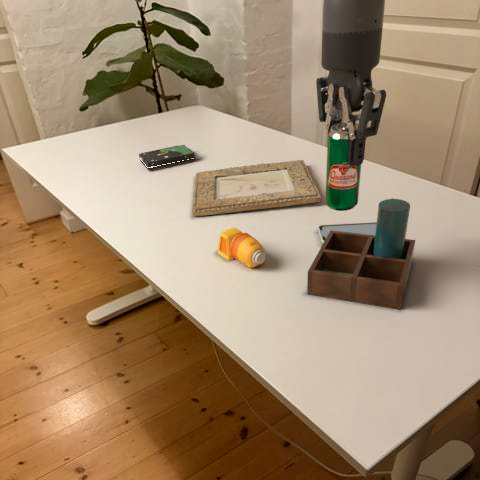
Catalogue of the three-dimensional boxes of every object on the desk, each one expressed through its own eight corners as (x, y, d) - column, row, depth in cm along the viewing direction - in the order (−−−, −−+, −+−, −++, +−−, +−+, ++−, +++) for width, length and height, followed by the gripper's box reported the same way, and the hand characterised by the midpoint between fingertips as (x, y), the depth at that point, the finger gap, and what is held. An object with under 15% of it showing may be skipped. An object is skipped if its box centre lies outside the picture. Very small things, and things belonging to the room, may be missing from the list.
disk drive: (149, 172, 135) (196, 161, 139) (146, 163, 133) (194, 151, 137) (140, 162, 143) (185, 152, 147) (138, 153, 141) (183, 143, 145)
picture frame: (196, 177, 129) (194, 168, 127) (303, 165, 128) (303, 155, 127) (193, 219, 108) (191, 209, 106) (322, 204, 107) (322, 193, 106)
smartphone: (399, 238, 91) (322, 242, 91) (398, 242, 92) (322, 246, 92) (389, 221, 97) (317, 225, 97) (388, 225, 97) (317, 229, 98)
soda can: (324, 212, 72) (327, 132, 65) (325, 198, 76) (328, 122, 68) (357, 212, 71) (364, 131, 64) (357, 198, 75) (363, 121, 68)
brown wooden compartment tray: (411, 262, 85) (415, 239, 82) (400, 309, 74) (403, 285, 72) (329, 251, 91) (330, 230, 88) (307, 294, 80) (307, 271, 77)
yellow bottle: (273, 266, 88) (237, 243, 96) (272, 241, 85) (235, 219, 93) (250, 277, 86) (215, 252, 94) (248, 251, 82) (212, 228, 90)
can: (402, 262, 84) (412, 200, 77) (398, 276, 81) (408, 212, 73) (374, 258, 86) (381, 197, 79) (369, 272, 83) (376, 209, 75)
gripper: (413, 25, 54) (395, 168, 64) (347, 18, 65) (340, 142, 75) (358, 33, 52) (349, 179, 63) (299, 25, 63) (299, 151, 73)
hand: (344, 158), depth 69 cm, fingers closed on soda can, 5 cm apart
